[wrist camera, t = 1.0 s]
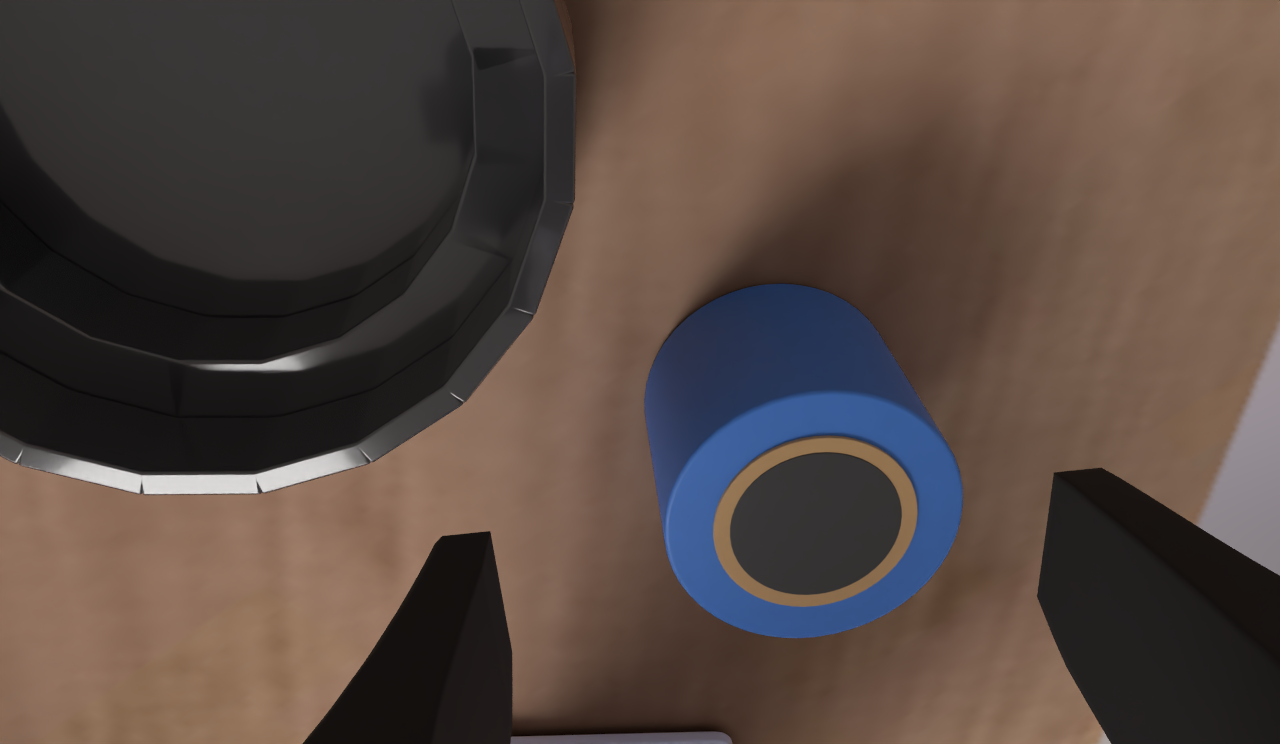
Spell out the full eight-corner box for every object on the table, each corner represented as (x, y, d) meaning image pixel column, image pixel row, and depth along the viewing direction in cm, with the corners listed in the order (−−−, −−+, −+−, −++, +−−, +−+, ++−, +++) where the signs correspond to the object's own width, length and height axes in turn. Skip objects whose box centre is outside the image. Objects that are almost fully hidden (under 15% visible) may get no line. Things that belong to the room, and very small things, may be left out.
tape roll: (872, 499, 26) (938, 640, 21) (639, 501, 25) (657, 646, 21) (909, 283, 23) (993, 393, 19) (649, 280, 22) (673, 393, 18)
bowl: (567, 377, 23) (571, 493, 19) (-57, 375, 22) (-189, 498, 18) (575, -330, 17) (582, -372, 13) (-280, -379, 16) (-548, -440, 12)
